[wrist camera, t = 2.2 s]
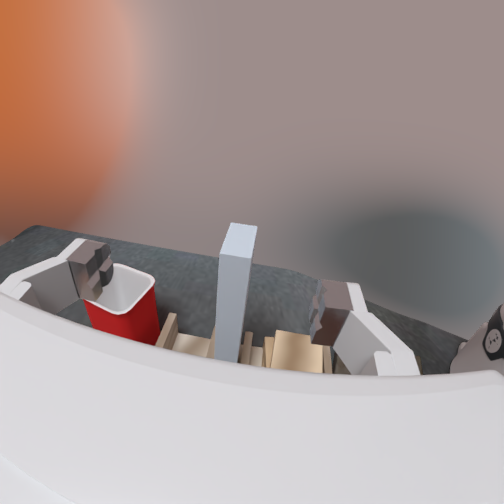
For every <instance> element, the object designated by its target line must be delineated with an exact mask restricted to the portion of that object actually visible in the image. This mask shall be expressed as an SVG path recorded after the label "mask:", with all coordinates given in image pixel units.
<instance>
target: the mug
mask: <svg viewBox="0 0 504 504" xmlns="http://www.w3.org/2000/svg"><path fill="white" fill-rule="evenodd" d="M113 267H114V272H113V277H112V280H111V281H110V283H109V284H108V285H107V286H104V287H102V288H103V293H102V294H101V295H100V297H99V298H98V299H97V301H96V302H93V301H89V300H85V299H83V301H84V303H85V306H86V309H87V312H88V315H89V318H90V321H91V323H92V326H93V329H97V330H100V331H103V332H106V333H109V334H113V335H116V336H120V337H123V338H127V339H130V340H134V341H137V342H141V343H145V344H149V345H153V346H154V345H155V344H156V343H157V340H158V338H159V336H160V328H159V321H158V315H157V308H156V300H155V292H154V284H155V279H154V277H153V276H151V275H150V274H147V273H144V272H141V271H138V270H136V269H133V268H130V267H128V266H125V265H122V264H117V263H115V264H113Z"/></svg>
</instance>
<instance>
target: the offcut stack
mask: <svg viewBox="0 0 504 504" xmlns="http://www.w3.org/2000/svg"><path fill="white" fill-rule="evenodd" d="M322 361H323V345H316V344H311V339H310V336H309V335H303V334H297V333H291V332H286V331H280V330H276V334H275V337H265V338H264V343H263V355H262V366H261V367H267V368H275V369H284V370H293V371H303V372H315V373H322Z"/></svg>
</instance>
